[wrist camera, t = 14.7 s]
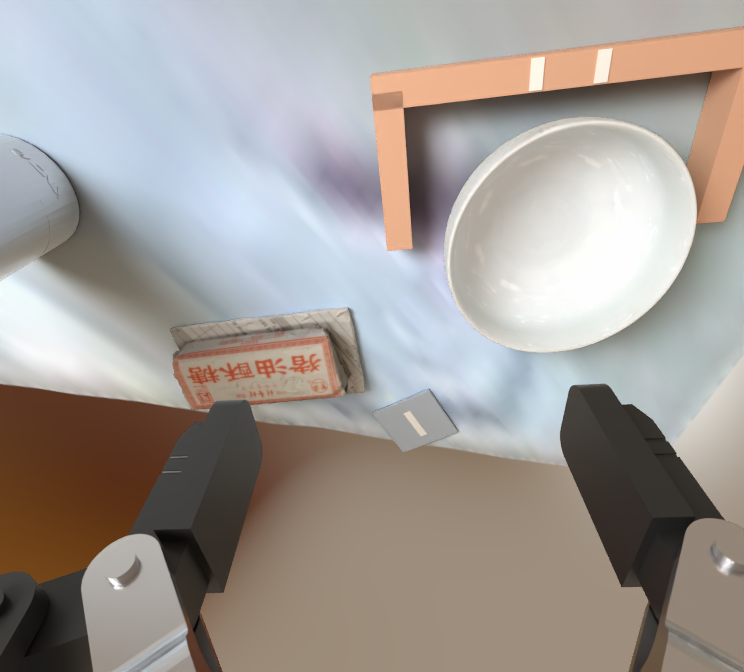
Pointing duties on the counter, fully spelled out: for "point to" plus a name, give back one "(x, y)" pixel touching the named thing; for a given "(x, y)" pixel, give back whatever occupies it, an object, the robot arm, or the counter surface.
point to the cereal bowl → (569, 233)
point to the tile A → (415, 421)
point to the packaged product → (269, 358)
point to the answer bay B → (569, 70)
